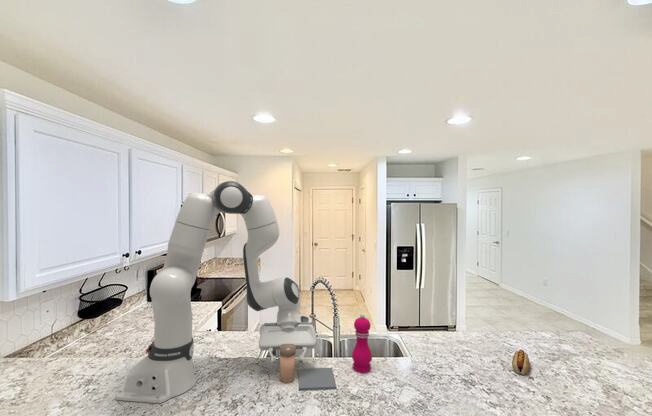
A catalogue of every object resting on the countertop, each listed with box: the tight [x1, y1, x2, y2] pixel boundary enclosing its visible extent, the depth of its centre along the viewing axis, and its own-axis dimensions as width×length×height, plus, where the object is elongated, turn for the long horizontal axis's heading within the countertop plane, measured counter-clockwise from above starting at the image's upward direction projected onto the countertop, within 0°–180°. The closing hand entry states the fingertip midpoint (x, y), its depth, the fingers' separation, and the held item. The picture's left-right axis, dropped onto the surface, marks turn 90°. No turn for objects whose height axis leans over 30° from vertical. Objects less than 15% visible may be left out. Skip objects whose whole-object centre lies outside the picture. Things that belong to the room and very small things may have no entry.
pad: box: [298, 367, 337, 392], centre depth 102 cm, size 12×12×1 cm
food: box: [511, 349, 531, 376], centre depth 112 cm, size 14×6×5 cm, turn 145°
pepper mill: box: [351, 313, 373, 374], centre depth 110 cm, size 7×7×20 cm
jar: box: [279, 344, 297, 384], centre depth 102 cm, size 5×5×11 cm
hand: (287, 362), depth 102 cm, fingers open, 8 cm apart
